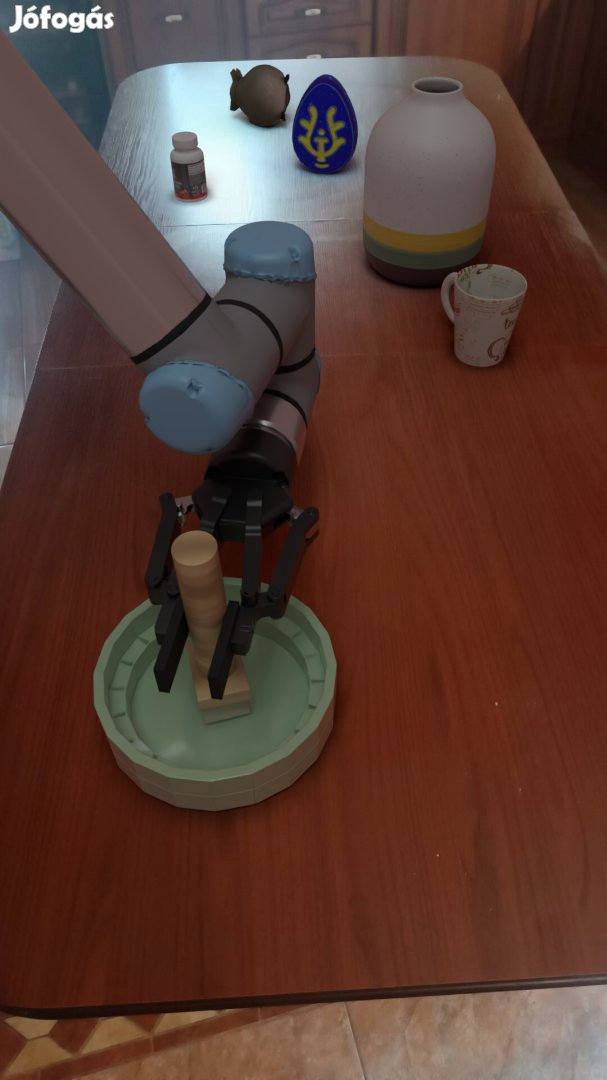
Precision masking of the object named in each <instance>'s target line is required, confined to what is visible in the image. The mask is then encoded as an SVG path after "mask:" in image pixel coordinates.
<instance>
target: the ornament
mask: <svg viewBox="0 0 607 1080" xmlns="http://www.w3.org/2000/svg"><path fill="white" fill-rule="evenodd" d="M358 137H359V125H358V120H357V115H356V112H355V109H354V106H353V103H352V101H351V98H350V97H349V94H348V92H347V90H346V89H345V87H344V85H343V84H342V83H341V82H340V81H339V79H338V78H336V76H334V75H332V74H329V73H325V74H321V75H319V76H317V77H316V78H315V79H314V80H313V81H311V83H310V84H309V85H308V87H307V88H306V89H305V91H304V92H303V94H302V95H301V98H300V99H299V102H298V105H297V107H296V110H295V113H294V117H293V122H292V129H291V142H292V149H293V151H294V153H295V155H296V157H297V159H298V160H299V162H300V163H301V164H302V165H303V167H305V168H306V169H308V170H309V171H312V172H314V173H316V174H323V175H326V174H327V175H328V174H333V173H335V172H338V171H340V170H342V169H343V168H345V167H346V166H347V164H349V163H350V161H351V160H352V158H353V156H354V155H355V152H356V149H357V145H358Z"/></svg>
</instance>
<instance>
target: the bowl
mask: <svg viewBox="0 0 607 1080" xmlns="http://www.w3.org/2000/svg"><path fill="white" fill-rule="evenodd" d="M222 577H223V583H224V589H225V596H226V602H227V605H228V602H229V600H231V601H239V604H240V603H241V596H240V590H241V585H242V577H231V576H229V577H228V576H222ZM268 587H269V583H265V582H262V581H261V593H262V592H267V590H268ZM161 607H162V605H161V604H160V605H153V604H151V602H150V600H149V598H147V599H146V600H144V601H143V602H142V603H140V604H139V605H138V606H136V607H135V608H134V609H132V610H131V611H130V612H128V613H127V614H126V615H124V616H123V618H122V619H121V621H119V623H118V624H117V625H116V626H115V628H114V630H112V632H111V633H110V634H109V635H108V637H107V639H105V641H104V643H103V646H102V647H101V648H102V649H101V652H100V653H99V656H98V660H97V663H96V665H95V668H94V670H93V675H92V676H93V678H92V679H93V707H94V709H95V712H96V715H97V717H98V720H99V723H100V726H101V728H102V730H103V733H104V736H105V739H106V741H107V743H108V746H109V748H110V750H111V753H112V755H113V757H114V760H115V761H116V764H117V766H118V767H119V769H120V770H121V771H122V772H123V773H124V774H125V775H126V776H127V777H128V778H129V779H130V780H131V781H132V782H133V783H134V784H135V785H136V786H137V787H138V788H139V789H140V790H141V791H142V792H144V793H146V794H147V795H150V796H152V797H153V798H154V797H155V798H156V799H159V800H160V801H162V802H165V803H167V804H170V805H172V806H173V807H176V808H182V809H190V810H191V809H192V810H199V811H200V810H201V811H211V812H219V811H224V810H225V811H226V810H230V809H234V808H235V809H236V808H241V807H245V806H246V807H247V806H250V805H256V804H258V803H260V802H262V801H264V800H266V799H268V798H269V797H272V796H273V795H275V794H278V793H279V792H281V791H283V790H285V789H286V788H289V787H291V786H292V785H293V784H295V782H296V781H297V780H298V779H299V778H300V777H301V776H302V775H304V773H305V772H307V770H308V769H309V768H310V767H311V766H312V765H314V763H315V762H316V761H317V760H318V759H319V756H320V755H321V753H322V751H323V749H324V746H325V745H326V742H327V741H328V739H329V736H330V734H331V732H332V731H333V728H334V719H335V711H336V710H335V709H336V703H337V677H338V676H337V674H338V663H337V659H336V655H335V652H334V649H333V648H334V647H333V644H332V641H331V637H330V634H329V632H328V631H327V630H326V628H325V627H324V625H323V624H322V622H321V621H320V620H319V618H318V617H317V615H316V614H315V613H314V612H313V610H312V609H311V608H310V607H309V606H308V605H306V604H305V603H304V602H302V601H301V600H300V599H298V598H297V597H295V596H293V594H291V596H290V599H289V602H288V605H287V608H286V611H285V614H284V616H283V617H282V618H281V619H272V618H271V617H270V616H269V617H264V618H261V619H260V620H258V622H257V623H256V627H255V631H254V635H253V639H252V643H251V647H250V651H249V652H248V653H247V654H246V656H242V655H241V657H242V661H243V665H244V669H245V673H246V677H247V680H248V684H249V688H250V695H251V699H250V700H248V701H249V708H250V713H248V714H244V715H240V716H236V717H232V718H228V719H224V720H220V721H216V722H212V723H208V724H206V722H205V718H204V714H203V711H202V712H200V709H199V705H198V700H197V696H196V691H195V686H194V681H193V676H192V671H191V666H190V661H189V657H188V652H187V647H186V643H185V646H184V650H183V653H182V656H181V659H180V662H179V665H178V668H177V672H176V675H175V678H174V681H173V684H172V687H171V690H170V693H164V692H159V690H158V686H157V683H156V679H155V675H154V671H153V668H154V665H155V662H156V659H157V656H158V653H159V651H160V648H161V645H158V643H157V639H156V635H155V630H154V626H155V623H156V621H157V618H158V615H159V612H160V609H161ZM187 641H191V637H190V633H189V634H188V637H187V640H186V642H187Z"/></svg>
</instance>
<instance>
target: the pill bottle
mask: <svg viewBox="0 0 607 1080" xmlns="http://www.w3.org/2000/svg"><path fill="white" fill-rule="evenodd" d="M171 145H172V147H173V149H172V150H171V151H170V153H169V159H170V160H169V161H170V167H171V175H172V183H173V188H174V189H173V190H174V196H175V197H174V198H175V199H176V200H177V201H178V202H181V203H187V204H193V203H199V202H201V201H202V202H203V201H204V200H206V199H207V198H208V185H207V184H208V183H207V175H206V165H205V154H204V151H203V150H202V149H201V148H200V147H198V146H199V141H198V135H197V133H195V132H193V131H178V132H176V133H173V134H172V136H171Z"/></svg>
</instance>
